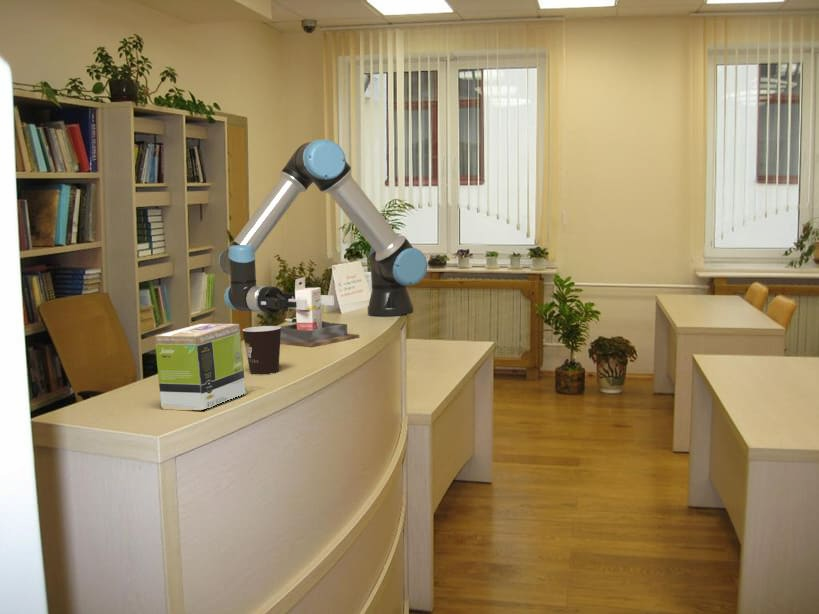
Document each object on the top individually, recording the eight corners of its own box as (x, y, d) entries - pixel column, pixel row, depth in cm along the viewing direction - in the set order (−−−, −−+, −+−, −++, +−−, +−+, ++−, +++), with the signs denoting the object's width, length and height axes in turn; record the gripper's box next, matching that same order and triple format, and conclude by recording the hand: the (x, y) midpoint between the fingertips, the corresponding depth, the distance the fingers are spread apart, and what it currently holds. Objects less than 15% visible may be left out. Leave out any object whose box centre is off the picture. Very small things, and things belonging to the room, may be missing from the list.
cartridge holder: (309, 332, 271) (309, 320, 270) (359, 337, 258) (358, 323, 257) (262, 341, 257) (261, 328, 257) (312, 347, 244) (311, 332, 244)
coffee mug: (284, 374, 208) (281, 330, 207) (245, 377, 207) (242, 332, 205) (282, 365, 219) (280, 323, 218) (245, 368, 218) (242, 325, 217)
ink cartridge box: (314, 333, 253) (311, 279, 251) (296, 333, 254) (293, 279, 252) (323, 328, 261) (320, 276, 259) (306, 328, 262) (303, 276, 260)
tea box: (205, 393, 191) (200, 322, 189) (247, 395, 187) (242, 322, 185) (159, 410, 177) (153, 333, 175) (203, 412, 173) (197, 334, 171)
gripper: (295, 307, 277) (349, 311, 262) (236, 317, 260) (290, 321, 246) (293, 282, 276) (347, 285, 261) (234, 290, 259) (288, 293, 245)
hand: (319, 302), depth 254 cm, fingers closed on ink cartridge box, 9 cm apart
